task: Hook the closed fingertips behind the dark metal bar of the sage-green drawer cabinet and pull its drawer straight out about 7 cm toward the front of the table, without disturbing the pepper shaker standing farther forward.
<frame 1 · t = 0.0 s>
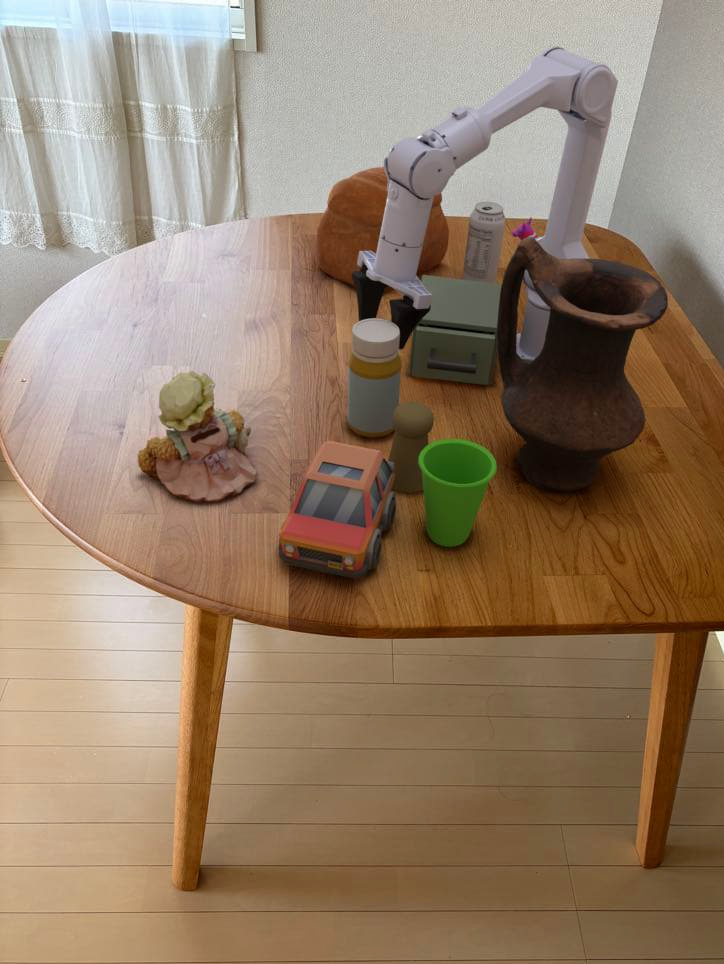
hand: (380, 336, 125), 11 cm above the table, tool pointing down, fingers open, 7 cm apart
figurine: (203, 474, 117), on the table
cup: (447, 534, 111), on the table
drawer: (454, 343, 137), point 5 cm above the table, slide at 0.5 cm
bread: (380, 268, 166), on the table
toy car: (338, 537, 110), on the table
energy drink can: (477, 291, 162), on the table
toy dog: (549, 285, 166), on the table
jug: (550, 465, 124), on the table
bottle: (372, 426, 128), on the table, touching gripper
cabinet: (452, 356, 144), on the table
pepper shaker: (407, 479, 119), on the table
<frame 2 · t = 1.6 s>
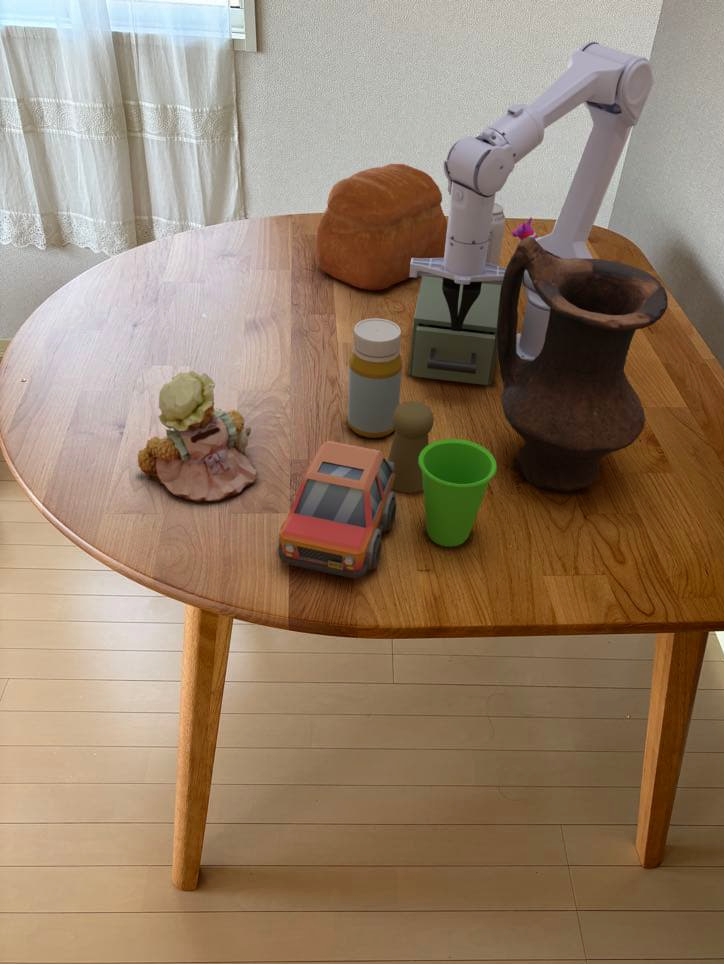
hand: (456, 327, 129), 10 cm above the table, tool pointing down, fingers closed
bottle: (372, 426, 128), on the table
everything else where it was.
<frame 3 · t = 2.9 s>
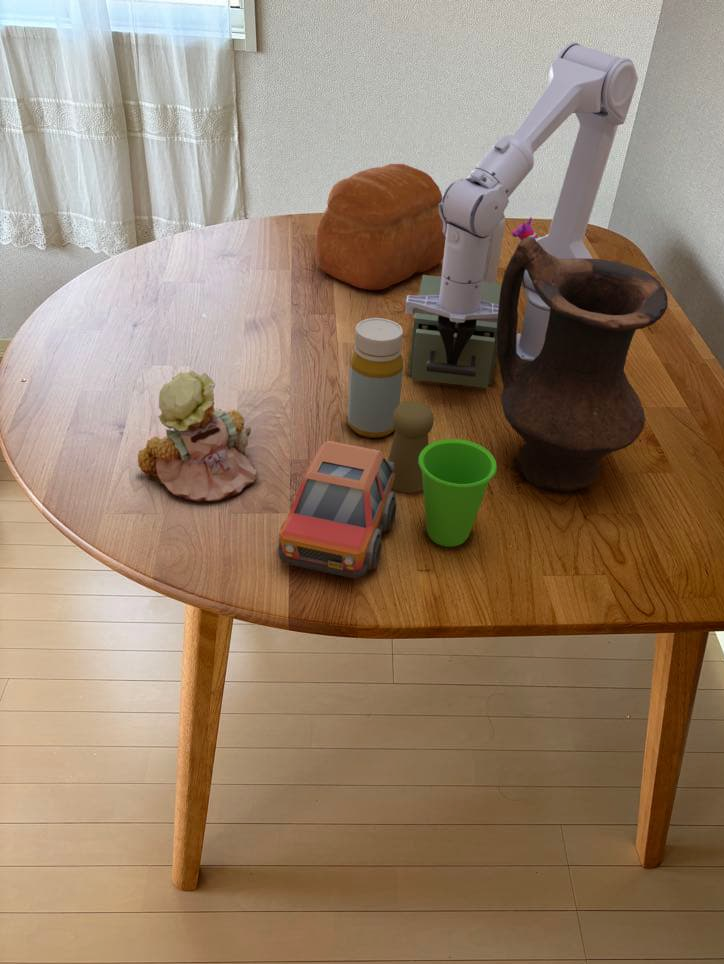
hand: (451, 363, 131), 6 cm above the table, tool pointing down, fingers closed, pressing on drawer
drawer: (454, 346, 136), point 5 cm above the table, slide at 1.3 cm, touching gripper
everything else where it was.
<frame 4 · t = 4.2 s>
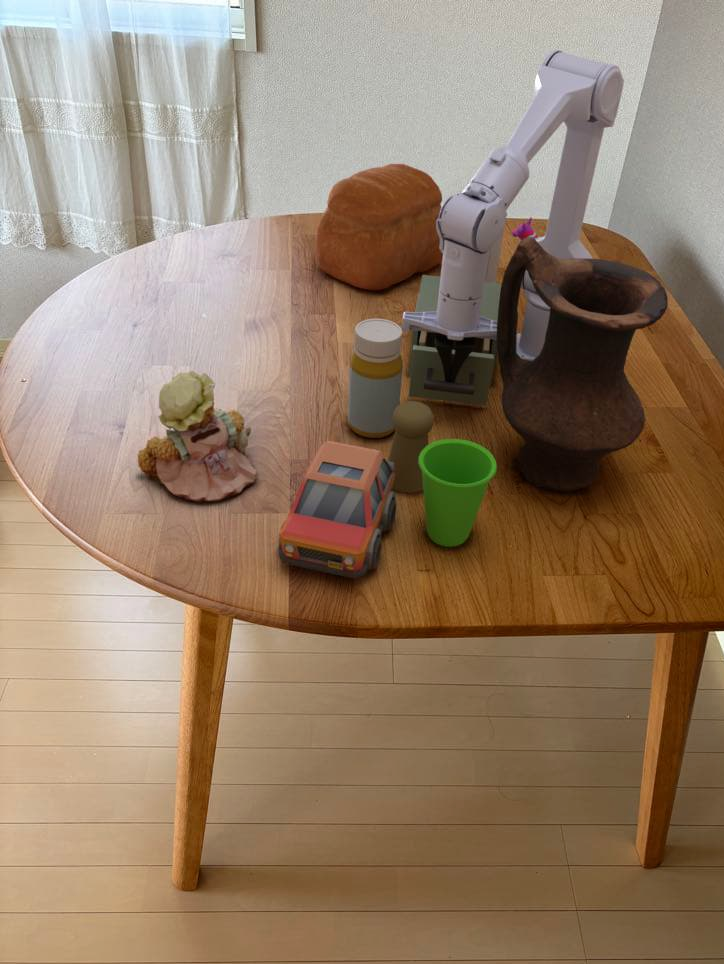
hand: (449, 380, 127), 6 cm above the table, tool pointing down, fingers closed, pressing on drawer
drawer: (452, 362, 133), point 5 cm above the table, slide at 6.2 cm, touching gripper
everything else where it was.
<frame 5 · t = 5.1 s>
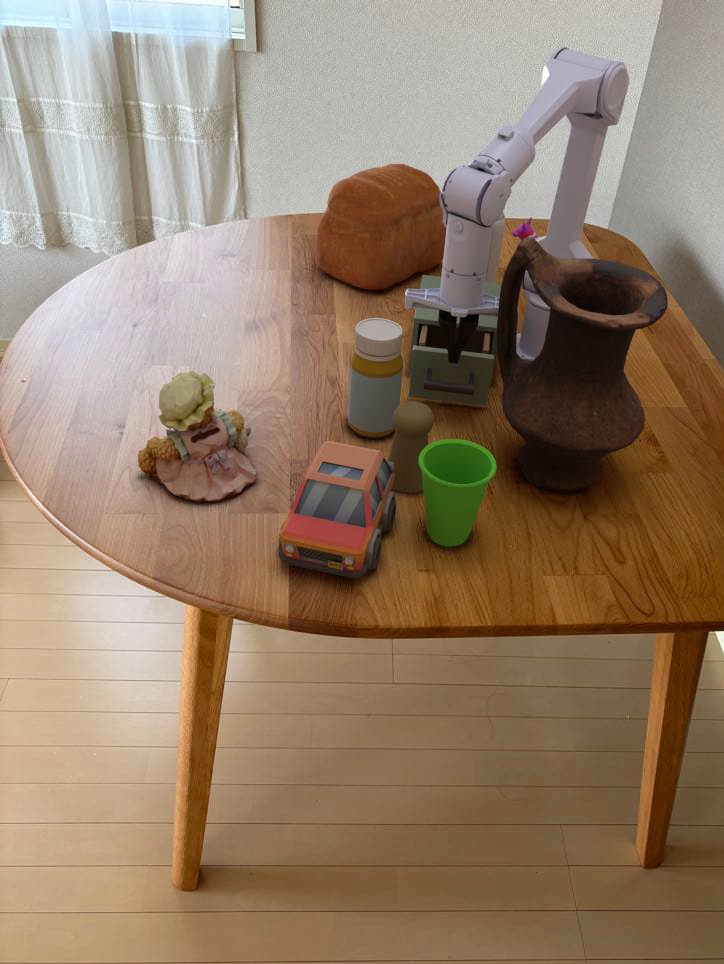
hand: (453, 359, 125), 9 cm above the table, tool pointing down, fingers closed
drawer: (452, 362, 133), point 5 cm above the table, slide at 6.2 cm
everything else where it was.
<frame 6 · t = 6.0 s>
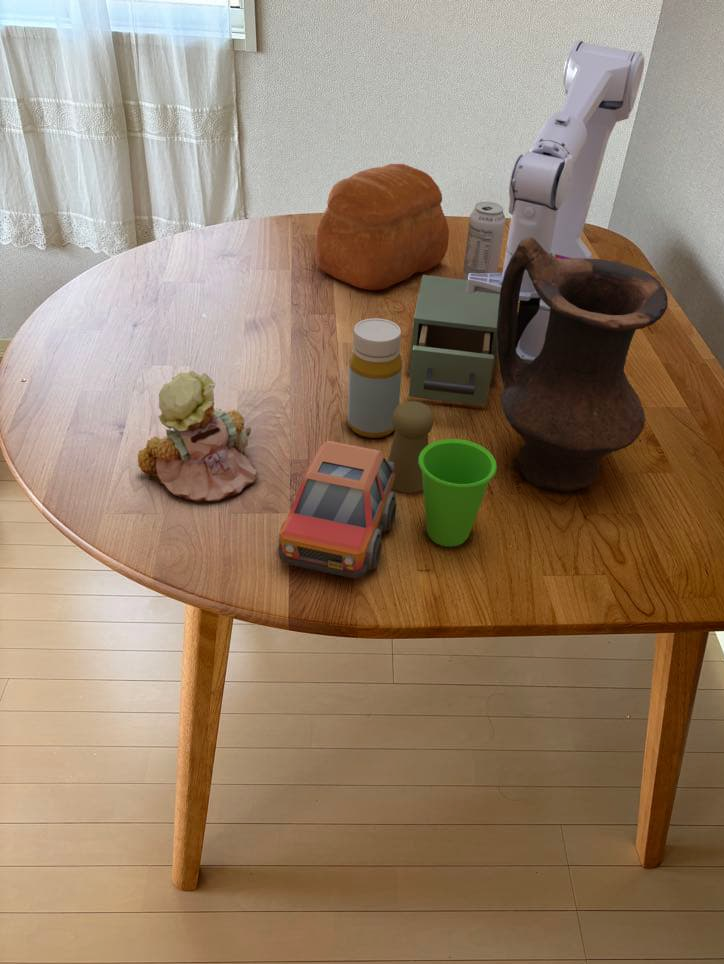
hand: (512, 343, 127), 10 cm above the table, tool pointing down, fingers closed
nothing on the table moved.
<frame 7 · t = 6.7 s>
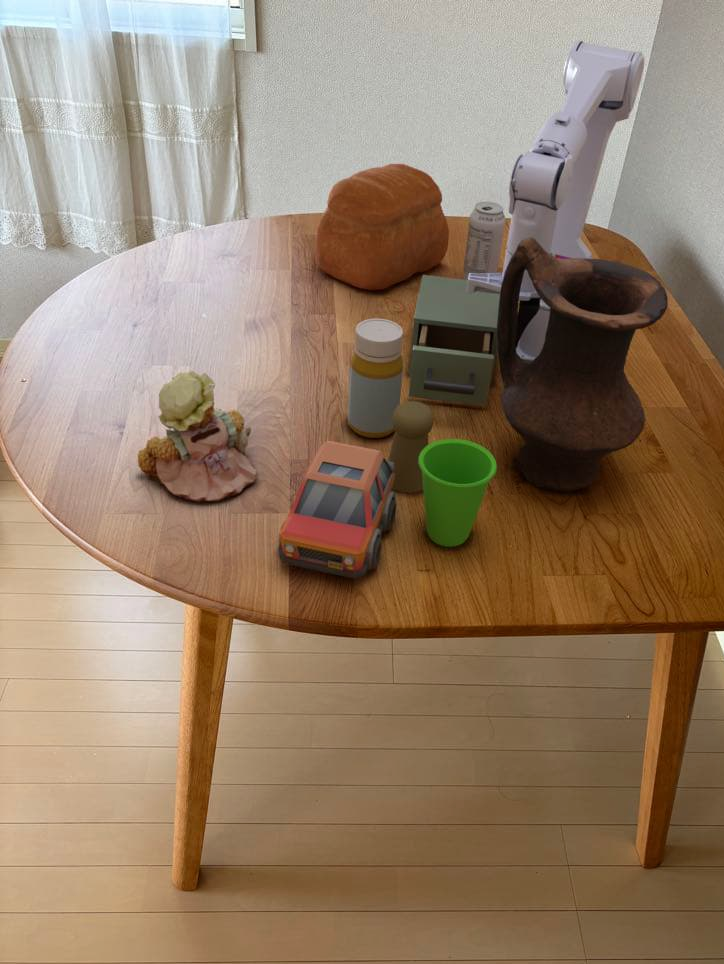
hand: (512, 343, 127), 10 cm above the table, tool pointing down, fingers closed
nothing on the table moved.
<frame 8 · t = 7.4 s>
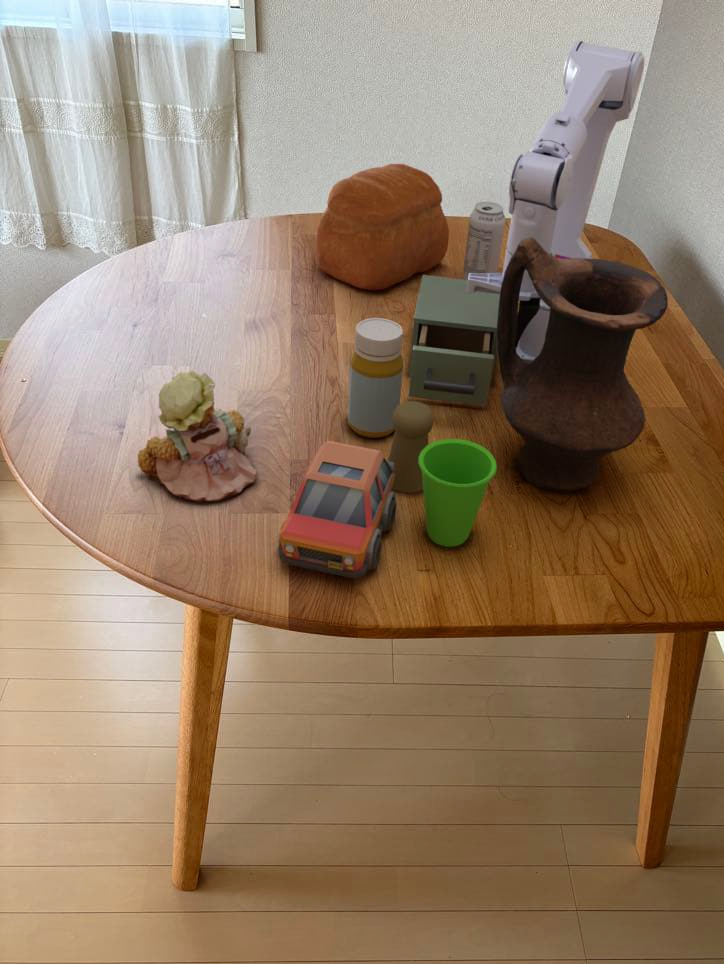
hand: (512, 343, 127), 10 cm above the table, tool pointing down, fingers closed
nothing on the table moved.
at the end: drawer slide at 6.2 cm; pepper shaker moved 0.2 cm from its start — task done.
